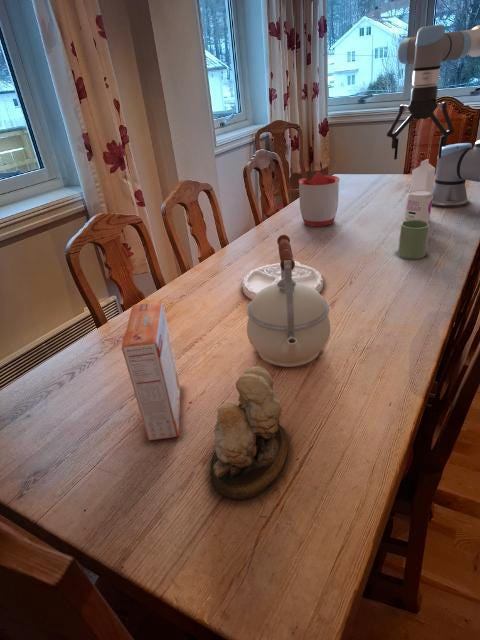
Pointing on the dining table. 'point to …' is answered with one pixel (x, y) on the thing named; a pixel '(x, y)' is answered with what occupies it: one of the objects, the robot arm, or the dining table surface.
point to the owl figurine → (249, 439)
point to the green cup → (413, 239)
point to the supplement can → (418, 205)
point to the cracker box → (153, 370)
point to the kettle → (288, 317)
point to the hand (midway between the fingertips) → (417, 158)
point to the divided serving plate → (272, 275)
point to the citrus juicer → (319, 199)
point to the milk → (423, 177)
